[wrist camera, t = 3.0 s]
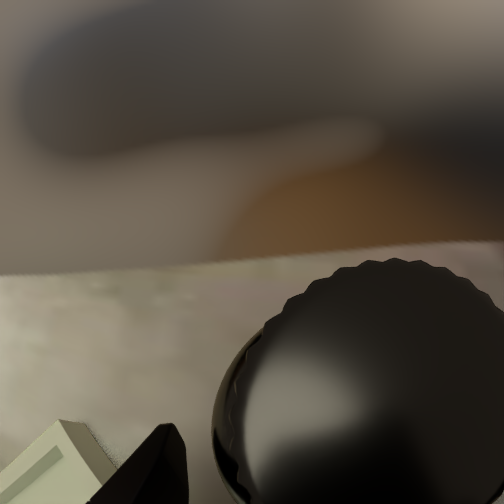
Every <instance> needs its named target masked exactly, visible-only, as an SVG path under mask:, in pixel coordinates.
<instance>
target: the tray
mask: <svg viewBox="0 0 504 504" xmlns="http://www.w3.org/2000/svg"><path fill="white" fill-rule="evenodd" d="M116 471H117V469H116V468H115V466H114V465H113V464H112V462H111V461H110V460H109V458H108V457H107V456H106V454H105V453H104V452H103V450H102V449H101V447H100V446H99V445H98V443H97V442H96V440H95V439H94V437H93V436H92V434H91V433H90V431H89V430H88V428H87V427H86V425H85V424H83V423H77V422H71V421H65V420H60V419H58V420H57V421H56V422H54V423H53V424H52V425H51V426H50V427H49V428H48V429H47V430H46V431H45V432H44V433H43V434H41V435H40V436H39V437H38V438H37V439H36V440H35V441H34V442H33V443H32V444H31V445H30V446H29V447H28V448H26V449H25V450H24V451H23V452H22V453H21V454H20V455H19V456H18V457H17V458H16V459H15V460H14V461H13V462H11V463H10V464H9V465H8V466H7V467H6V468H5V469H4V470H3V471H2V472H1V473H0V504H85V503H86V502H87V501H90V498H91V497H92V496H93V495H94V494H95V493H96V492H97V491H98V490H99V489H100V488H101V487H102V486H103V485H104V484H105V483H106V481H107V480H108V479H109V478H110V477H111V476H112V475H113V474H114V473H115V472H116Z"/></svg>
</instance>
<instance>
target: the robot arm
mask: <svg viewBox="0 0 504 504" xmlns="http://www.w3.org/2000/svg"><path fill="white" fill-rule="evenodd" d="M85 504H189V485H188V473H187V459H186V447H185V443H184V441H183V439H182V437H181V435H180V434H179V432H178V430H177V428H176V426H175V425H174V424H173V423H166V424H160V425H158V426H157V427H156V428H155V429H154V430H153V432H152V433H151V434H150V435H149V436H148V437H147V438H146V439H145V440H144V442H143V443H142V444H141V445H140V446H139V447H138V448H137V449H136V450H135V451H134V453H133V454H132V455H131V456H130V457H129V458H128V459H127V460H126V461H125V462H124V463H123V464H122V466H121V467H120V468H119V469H118V470H117V471H116V472H115V473H114V474H113V475H112V476H111V477H110V478H109V479H108V480H107V481H106V483H105V484H104V485H103V486H102V487H101V488H100V489H99V490H98V491H97V492H96V493H95V494H94V495H93V496H92V497H91V498H90V501H87V502H86V503H85Z"/></svg>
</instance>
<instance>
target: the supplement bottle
mask: <svg viewBox="0 0 504 504" xmlns="http://www.w3.org/2000/svg"><path fill="white" fill-rule="evenodd" d="M211 437H212V448H213V454H214V459H215V462H216V466H217V469H218V472H219V474H220V476H221V479H222V481H223V483H224V485H225V487H226V488H227V490H228V492H229V494H230V495H231V496H232V498H233V499H234V501H235V502H236V503H237V504H492V503H493V502H494V501H496V500H497V499H498V498H499V497H500V496H501V495H502V492H503V490H504V312H503V311H502V310H500V309H499V308H498V307H496V306H495V304H494V303H493V301H492V299H491V298H490V296H489V295H488V294H487V293H485V292H483V291H480V290H478V289H477V288H476V287H475V286H474V285H473V283H472V282H471V281H470V280H469V279H467V278H463V277H458V276H456V275H455V274H454V273H452V272H451V271H450V270H449V269H447V268H446V267H433V266H431V265H429V264H428V263H426V262H424V261H422V260H417V261H411V262H407V261H404V260H401V259H398V258H392V259H388V260H387V261H384V262H379V261H372V260H367V261H365V262H363V263H361V264H360V265H359V266H357V267H343V268H339V269H338V270H337V271H335V272H334V273H333V275H332V276H330V277H328V278H322V279H318V280H314V281H313V282H312V283H311V284H310V285H309V286H308V288H307V289H306V291H305V292H304V293H302V294H299V295H296V296H294V297H292V298H289V299H288V300H287V302H286V303H285V305H284V307H283V310H282V312H281V313H280V314H278V315H276V316H274V317H273V318H271V319H270V320H268V321H267V322H265V324H264V327H263V328H262V329H260V330H259V331H258V332H257V333H256V334H255V335H254V336H253V337H252V338H251V339H250V340H249V341H248V342H247V343H246V344H245V345H244V346H243V348H242V349H241V350H240V351H239V353H238V354H237V355H236V357H235V358H234V360H233V361H232V363H231V365H230V366H229V368H228V370H227V371H226V374H225V376H224V378H223V380H222V382H221V385H220V387H219V390H218V393H217V396H216V400H215V404H214V408H213V415H212V426H211Z"/></svg>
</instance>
